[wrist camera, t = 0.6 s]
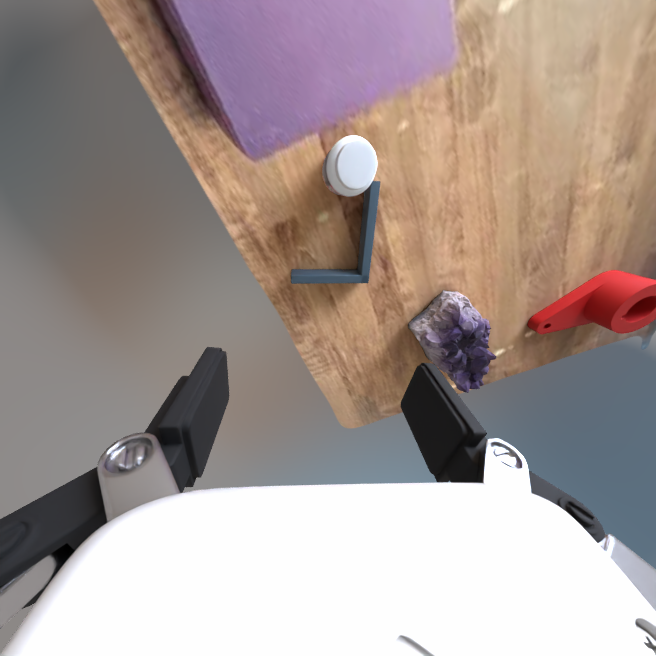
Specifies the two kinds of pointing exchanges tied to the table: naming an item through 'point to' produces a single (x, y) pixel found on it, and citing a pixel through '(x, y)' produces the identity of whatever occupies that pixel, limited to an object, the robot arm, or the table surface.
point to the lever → (602, 305)
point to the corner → (364, 249)
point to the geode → (455, 339)
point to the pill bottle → (350, 166)
